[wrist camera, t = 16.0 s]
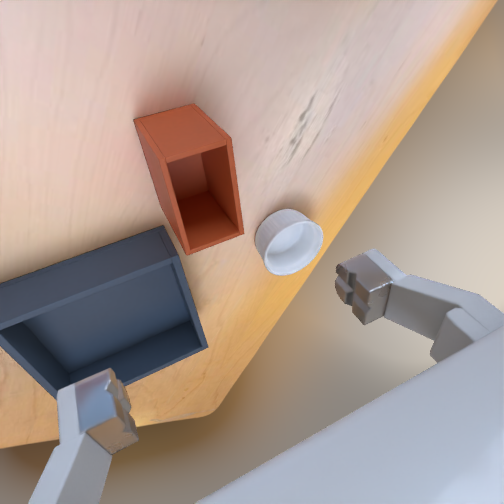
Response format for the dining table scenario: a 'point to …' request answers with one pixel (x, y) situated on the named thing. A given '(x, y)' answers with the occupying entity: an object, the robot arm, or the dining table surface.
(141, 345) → the outer bin
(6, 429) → the dining table surface
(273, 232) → the ramekin
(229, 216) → the tote
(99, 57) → the dining table surface
